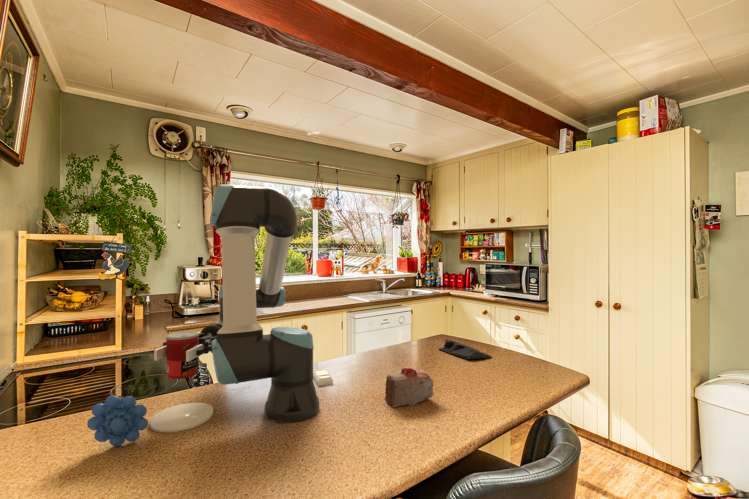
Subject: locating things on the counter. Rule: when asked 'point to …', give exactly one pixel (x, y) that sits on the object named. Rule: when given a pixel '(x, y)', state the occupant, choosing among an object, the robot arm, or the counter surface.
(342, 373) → the counter surface
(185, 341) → the canned food
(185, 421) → the plate
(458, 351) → the dark slate chunk
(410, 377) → the food item
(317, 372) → the soap bar
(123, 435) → the grapes
